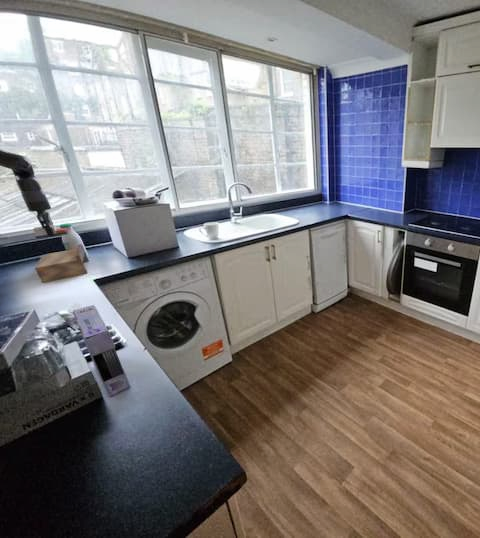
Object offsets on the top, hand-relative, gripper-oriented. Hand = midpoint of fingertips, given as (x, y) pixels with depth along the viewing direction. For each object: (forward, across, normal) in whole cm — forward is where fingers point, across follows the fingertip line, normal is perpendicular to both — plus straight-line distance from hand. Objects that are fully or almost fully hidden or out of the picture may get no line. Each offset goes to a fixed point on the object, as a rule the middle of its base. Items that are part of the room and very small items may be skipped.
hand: (52, 234), depth 144 cm
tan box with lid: (+18, +3, 0) cm, 18 cm away
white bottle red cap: (0, 0, 0) cm, 0 cm away
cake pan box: (+18, +114, +16) cm, 117 cm away
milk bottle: (+18, -16, +4) cm, 25 cm away
